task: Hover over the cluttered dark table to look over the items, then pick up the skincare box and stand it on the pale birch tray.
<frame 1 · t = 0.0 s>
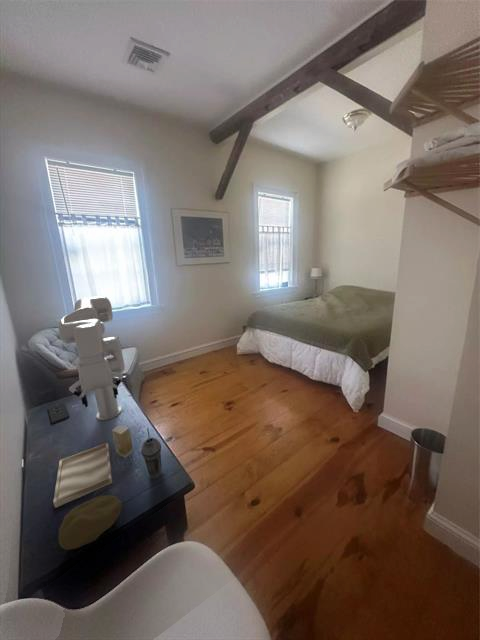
hand: (101, 401, 94), 31 cm above the table, tool pointing down, fingers open, 9 cm apart
decorative stone: (95, 532, 78), on the table
birch tray: (85, 473, 101), on the table
skincare box: (125, 453, 110), on the table
beverage cup: (155, 474, 98), on the table
smart home device: (58, 414, 143), on the table
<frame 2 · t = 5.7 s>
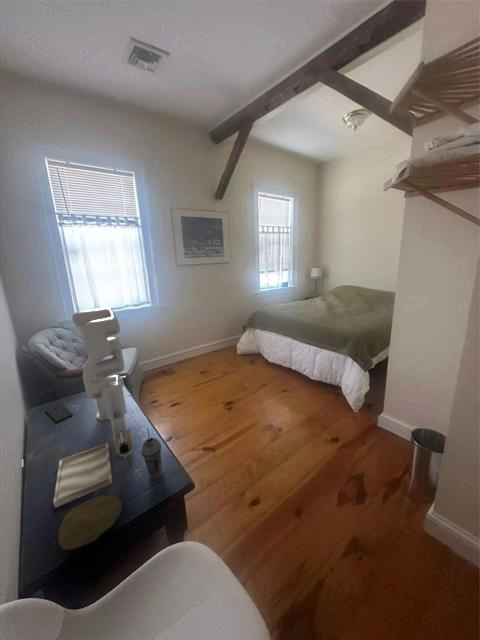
hand: (123, 446, 109), 3 cm above the table, tool pointing down, fingers closed on skincare box, 7 cm apart
skincare box: (125, 453, 110), on the table, touching gripper
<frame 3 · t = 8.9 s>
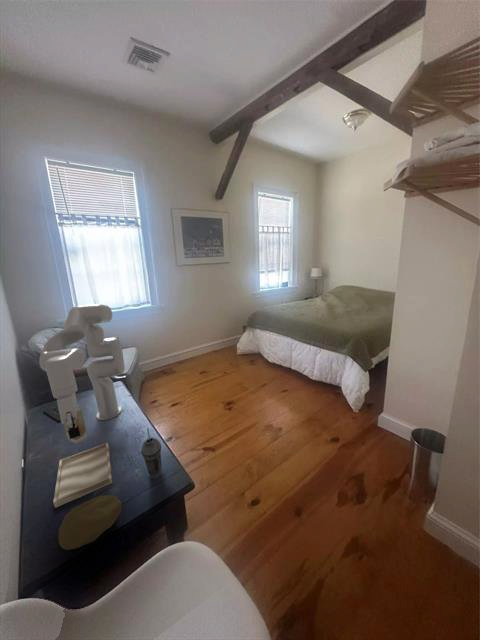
hand: (75, 430, 96), 20 cm above the table, tool pointing down, fingers closed on skincare box, 7 cm apart
skincare box: (77, 438, 97), point 16 cm above the table, touching gripper
when the fingers open (6 cm above the table, at t = 12.2 s): skincare box drops 1 cm, resting on birch tray.
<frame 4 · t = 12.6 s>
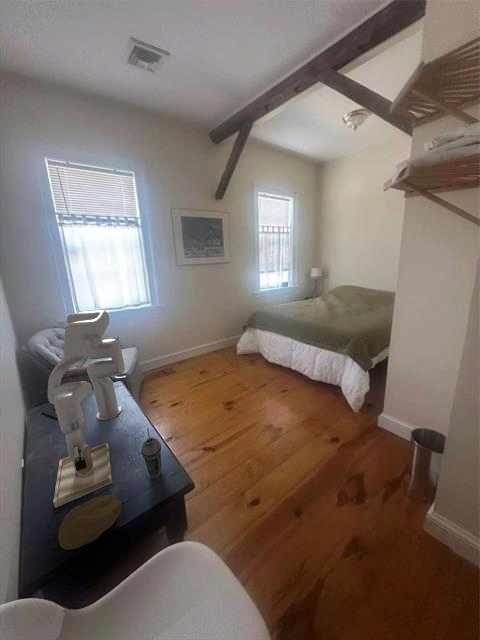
hand: (82, 460, 99), 6 cm above the table, tool pointing down, fingers open, 9 cm apart
skincare box: (85, 472, 100), point 1 cm above the table, touching birch tray
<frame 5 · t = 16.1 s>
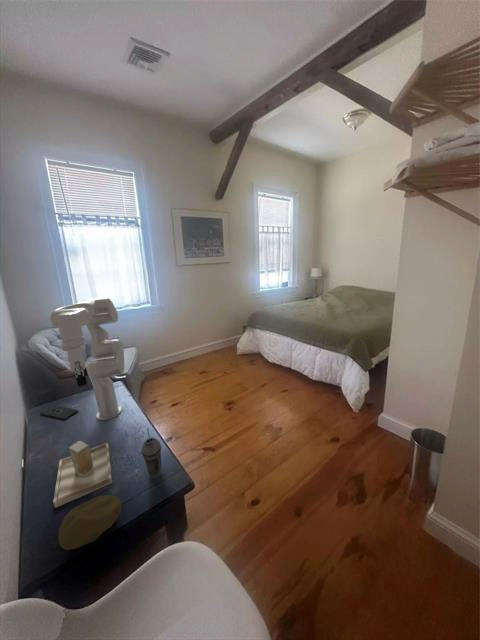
hand: (82, 380, 106), 33 cm above the table, tool pointing down, fingers open, 9 cm apart
at the end: skincare box inside the target area on the birch tray (0.2 cm from its centre), point 0.8 cm above the birch tray's base; skincare box tilted 0°; the gripper is holding nothing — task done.
